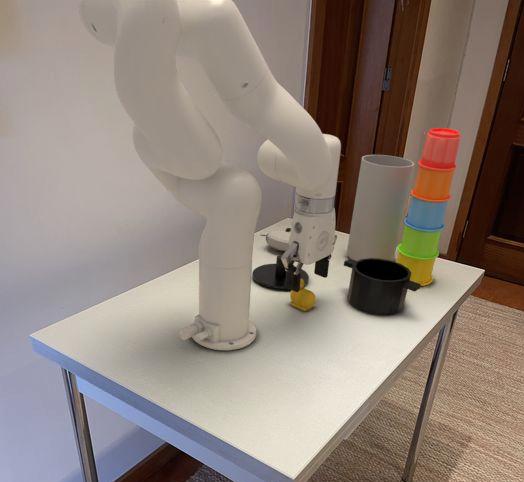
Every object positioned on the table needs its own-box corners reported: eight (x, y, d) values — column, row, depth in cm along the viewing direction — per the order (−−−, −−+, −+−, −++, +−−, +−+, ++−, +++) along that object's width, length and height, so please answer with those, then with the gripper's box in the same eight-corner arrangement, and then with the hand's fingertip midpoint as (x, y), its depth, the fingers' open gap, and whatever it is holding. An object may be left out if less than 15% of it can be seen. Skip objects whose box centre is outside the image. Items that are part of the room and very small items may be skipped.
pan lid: (284, 297, 118) (286, 273, 115) (240, 277, 125) (241, 255, 122) (319, 280, 126) (322, 258, 123) (276, 263, 134) (278, 242, 131)
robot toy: (285, 238, 152) (257, 249, 140) (287, 222, 149) (259, 232, 138) (323, 248, 146) (297, 261, 135) (326, 232, 144) (300, 243, 133)
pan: (396, 326, 109) (404, 291, 105) (326, 297, 119) (331, 264, 115) (424, 307, 118) (432, 274, 113) (356, 281, 127) (362, 250, 123)
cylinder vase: (402, 259, 141) (424, 163, 128) (375, 271, 133) (395, 169, 120) (364, 245, 148) (381, 152, 135) (336, 255, 140) (351, 158, 127)
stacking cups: (441, 283, 129) (481, 133, 111) (407, 289, 125) (443, 134, 107) (414, 267, 137) (448, 124, 119) (382, 271, 133) (412, 125, 115)
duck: (318, 308, 114) (321, 282, 111) (307, 313, 112) (310, 288, 108) (294, 297, 118) (296, 272, 114) (283, 302, 115) (285, 277, 112)
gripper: (302, 217, 95) (295, 302, 104) (355, 198, 106) (344, 276, 115) (271, 207, 99) (266, 289, 108) (325, 189, 110) (317, 265, 120)
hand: (307, 282), depth 112 cm, fingers open, 9 cm apart
